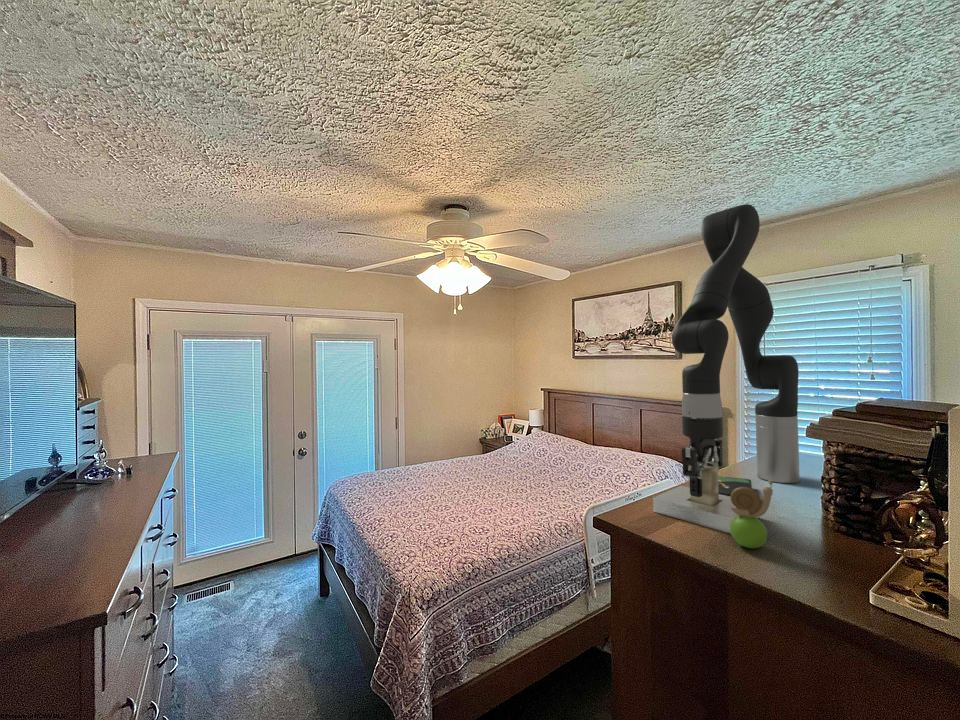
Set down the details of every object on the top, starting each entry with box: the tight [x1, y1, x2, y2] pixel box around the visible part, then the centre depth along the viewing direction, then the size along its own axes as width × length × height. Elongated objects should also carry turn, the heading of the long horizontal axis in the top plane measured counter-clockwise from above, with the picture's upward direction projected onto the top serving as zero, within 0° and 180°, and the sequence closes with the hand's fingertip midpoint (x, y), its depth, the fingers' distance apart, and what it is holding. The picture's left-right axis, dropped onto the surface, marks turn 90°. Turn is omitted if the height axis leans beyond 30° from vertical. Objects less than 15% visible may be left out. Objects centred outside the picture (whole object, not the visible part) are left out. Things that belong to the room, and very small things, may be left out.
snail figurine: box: [730, 480, 774, 549], centre depth 70 cm, size 5×6×12 cm
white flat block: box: [652, 485, 760, 535], centre depth 85 cm, size 13×16×3 cm
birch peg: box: [690, 466, 719, 507], centre depth 85 cm, size 4×4×10 cm
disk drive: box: [718, 475, 753, 496], centre depth 98 cm, size 10×3×15 cm
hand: (704, 491), depth 85 cm, fingers open, 7 cm apart
